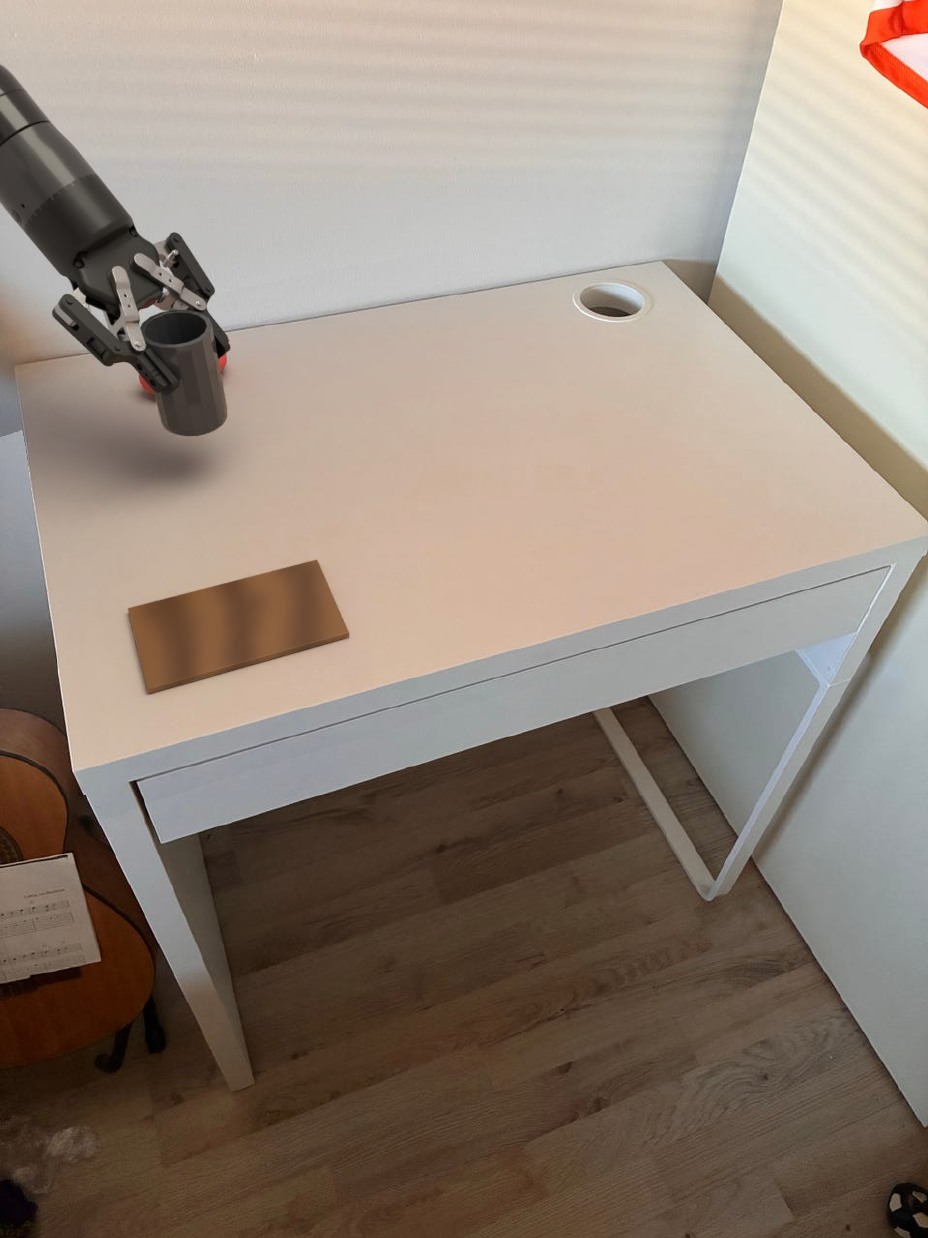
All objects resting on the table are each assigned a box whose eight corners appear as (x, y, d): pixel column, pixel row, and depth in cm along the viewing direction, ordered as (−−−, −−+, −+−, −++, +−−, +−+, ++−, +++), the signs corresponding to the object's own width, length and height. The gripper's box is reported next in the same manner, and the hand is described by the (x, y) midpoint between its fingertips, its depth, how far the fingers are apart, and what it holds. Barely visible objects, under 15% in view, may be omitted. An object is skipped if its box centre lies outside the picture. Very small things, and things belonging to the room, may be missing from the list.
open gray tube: (168, 442, 84) (145, 352, 77) (155, 405, 88) (133, 316, 81) (234, 428, 86) (218, 339, 79) (219, 392, 89) (203, 304, 82)
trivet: (148, 694, 73) (147, 689, 72) (129, 612, 78) (127, 607, 78) (349, 637, 77) (349, 632, 76) (317, 563, 82) (317, 558, 82)
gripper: (2, 210, 70) (160, 397, 75) (138, 144, 79) (272, 316, 84) (-24, 259, 76) (124, 430, 81) (106, 193, 84) (233, 351, 89)
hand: (199, 371), depth 82 cm, fingers closed on open gray tube, 6 cm apart
